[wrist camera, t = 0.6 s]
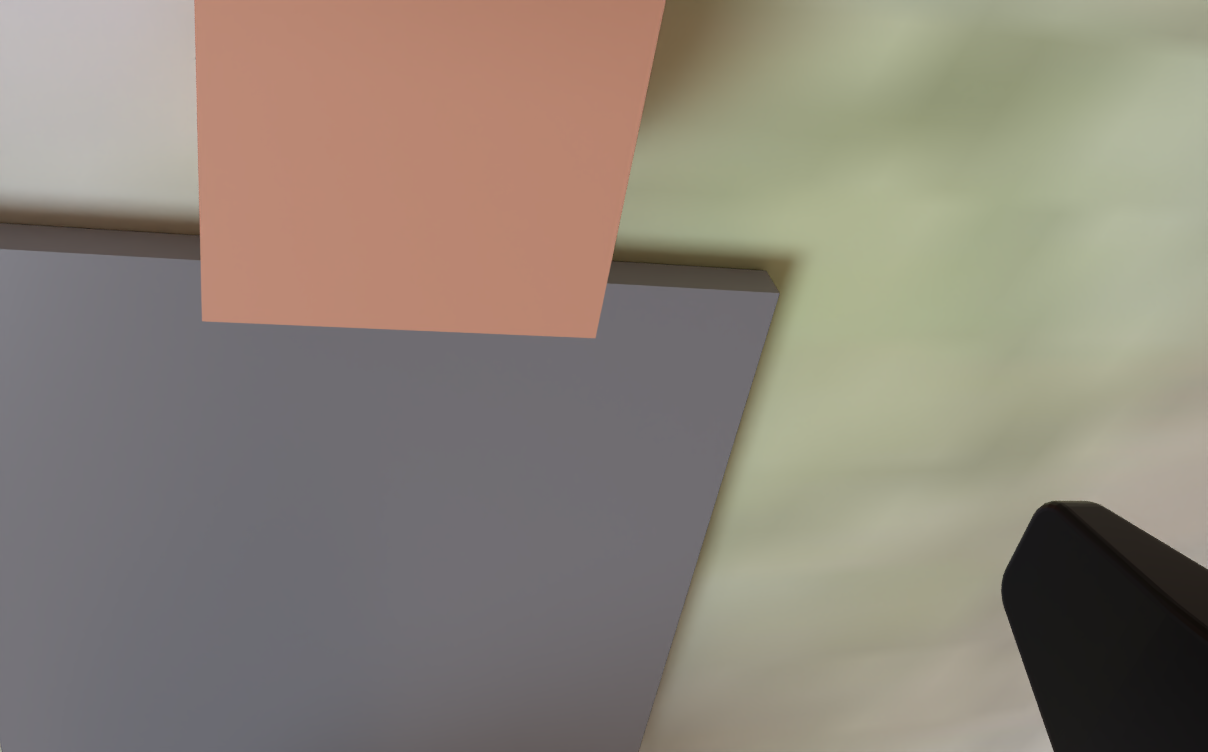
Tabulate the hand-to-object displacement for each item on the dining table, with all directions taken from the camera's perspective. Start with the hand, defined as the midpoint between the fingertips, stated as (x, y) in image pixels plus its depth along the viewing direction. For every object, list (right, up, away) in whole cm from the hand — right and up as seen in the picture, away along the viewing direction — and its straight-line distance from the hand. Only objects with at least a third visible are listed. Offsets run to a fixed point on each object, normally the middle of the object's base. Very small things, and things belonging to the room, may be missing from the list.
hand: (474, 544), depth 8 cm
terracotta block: (-2, +7, +9) cm, 12 cm away
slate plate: (-4, -2, +15) cm, 16 cm away
